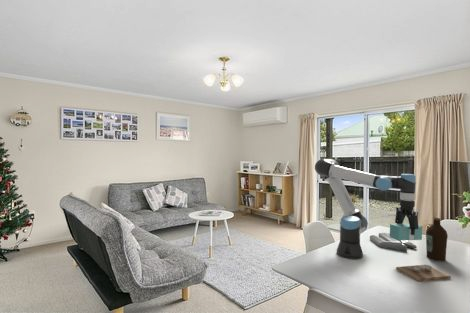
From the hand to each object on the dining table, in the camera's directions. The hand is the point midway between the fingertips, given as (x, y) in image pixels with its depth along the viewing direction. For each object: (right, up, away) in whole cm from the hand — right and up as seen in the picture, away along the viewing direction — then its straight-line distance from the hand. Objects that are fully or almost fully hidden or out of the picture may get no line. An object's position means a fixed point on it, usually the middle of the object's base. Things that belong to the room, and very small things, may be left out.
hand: (405, 237), depth 161 cm
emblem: (+9, -14, +30) cm, 34 cm away
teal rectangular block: (0, 0, 0) cm, 0 cm away
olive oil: (+21, -14, +5) cm, 26 cm away
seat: (-2, -14, -18) cm, 23 cm away
